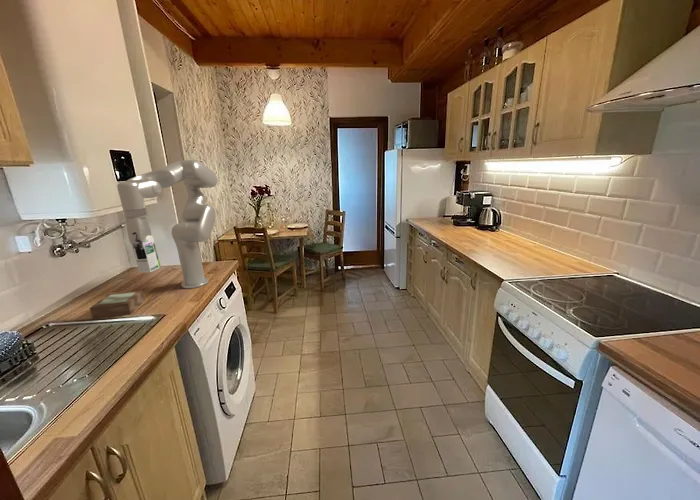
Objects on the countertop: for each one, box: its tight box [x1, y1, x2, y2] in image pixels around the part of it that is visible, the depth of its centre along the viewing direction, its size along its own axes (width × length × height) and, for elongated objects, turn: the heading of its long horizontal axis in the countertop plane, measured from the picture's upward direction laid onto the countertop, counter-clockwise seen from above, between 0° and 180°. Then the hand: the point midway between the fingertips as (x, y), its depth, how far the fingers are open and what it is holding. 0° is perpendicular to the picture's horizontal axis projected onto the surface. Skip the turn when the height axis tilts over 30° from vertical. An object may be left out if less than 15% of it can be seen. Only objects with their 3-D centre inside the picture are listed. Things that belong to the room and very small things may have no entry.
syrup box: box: [130, 234, 162, 274], centre depth 132 cm, size 6×6×14 cm
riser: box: [89, 290, 145, 320], centre depth 137 cm, size 14×14×5 cm
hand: (146, 255), depth 132 cm, fingers closed on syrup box, 7 cm apart
